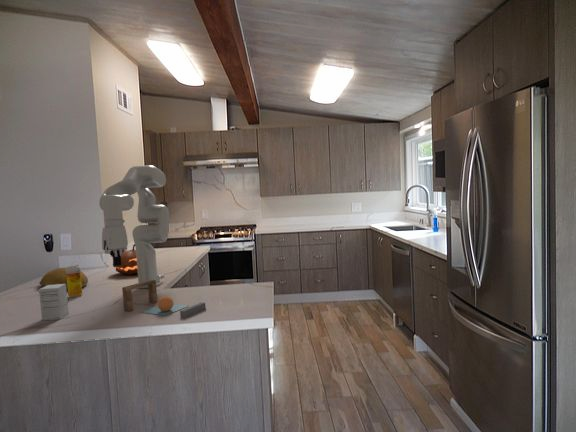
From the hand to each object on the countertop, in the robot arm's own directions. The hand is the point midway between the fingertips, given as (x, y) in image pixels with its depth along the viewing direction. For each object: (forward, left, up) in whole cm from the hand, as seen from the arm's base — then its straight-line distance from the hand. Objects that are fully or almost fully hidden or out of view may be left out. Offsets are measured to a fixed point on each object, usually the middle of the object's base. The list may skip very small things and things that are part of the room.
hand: (117, 265), depth 178 cm
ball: (+2, +29, -14) cm, 33 cm away
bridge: (0, +13, -17) cm, 21 cm away
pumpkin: (-53, -53, -17) cm, 77 cm away
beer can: (-2, -35, -17) cm, 39 cm away
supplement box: (+23, -10, -17) cm, 30 cm away
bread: (-16, -64, -18) cm, 68 cm away
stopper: (0, +42, -17) cm, 45 cm away
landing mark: (0, +27, -17) cm, 32 cm away
